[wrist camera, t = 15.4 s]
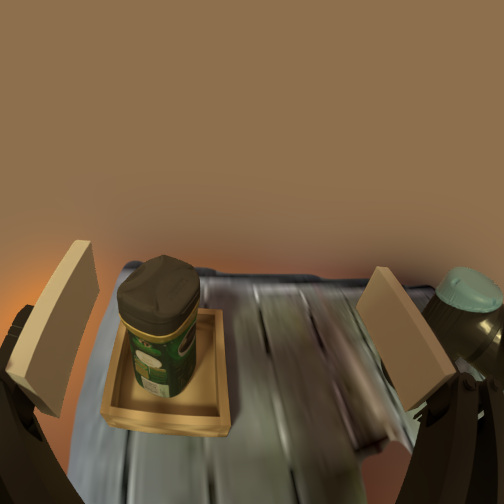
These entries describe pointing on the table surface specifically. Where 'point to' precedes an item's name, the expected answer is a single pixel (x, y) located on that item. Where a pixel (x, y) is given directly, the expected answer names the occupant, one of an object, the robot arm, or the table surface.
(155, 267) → the coffee jar
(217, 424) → the pine crate
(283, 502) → the table surface
